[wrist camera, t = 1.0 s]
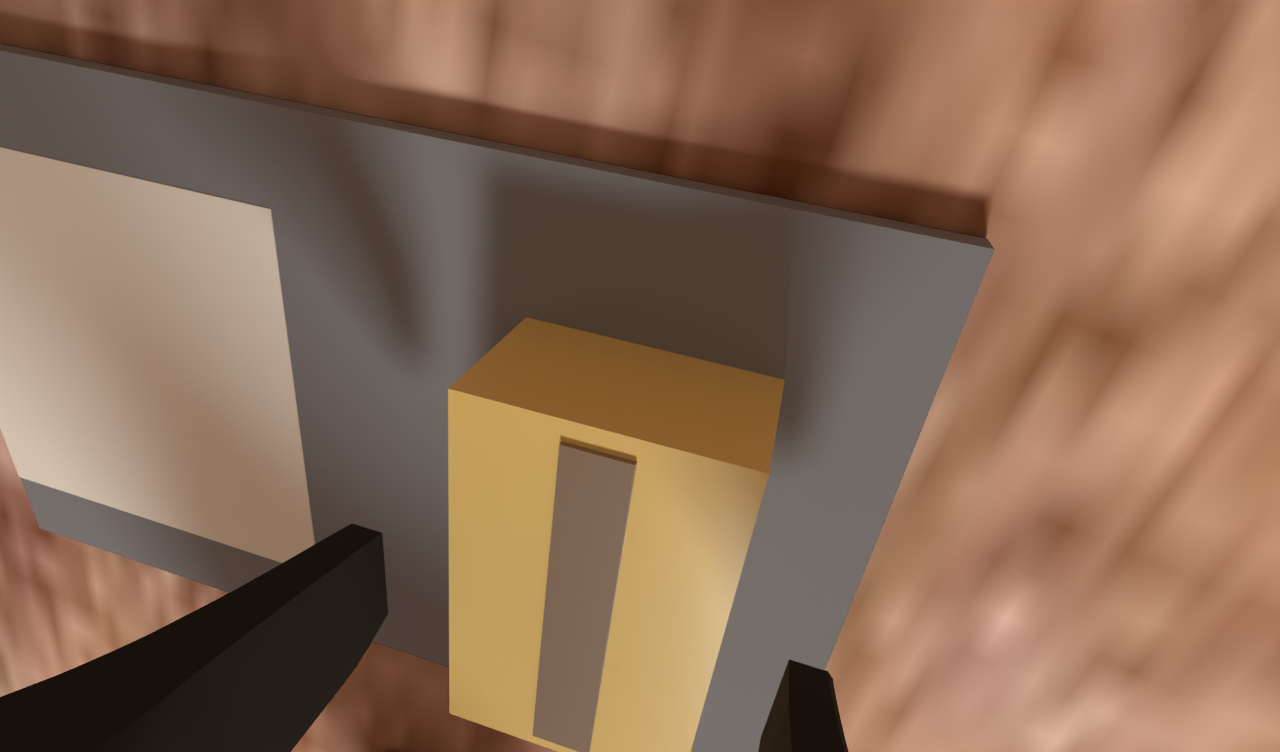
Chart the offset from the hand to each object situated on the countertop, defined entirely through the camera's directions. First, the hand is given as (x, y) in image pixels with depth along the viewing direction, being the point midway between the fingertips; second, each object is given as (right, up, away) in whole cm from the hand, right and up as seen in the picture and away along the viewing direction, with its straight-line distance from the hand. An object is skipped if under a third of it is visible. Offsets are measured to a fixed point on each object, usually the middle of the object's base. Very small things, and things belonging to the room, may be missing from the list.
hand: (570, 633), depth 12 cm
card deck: (+1, +1, +3) cm, 4 cm away
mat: (-5, +3, +5) cm, 8 cm away
